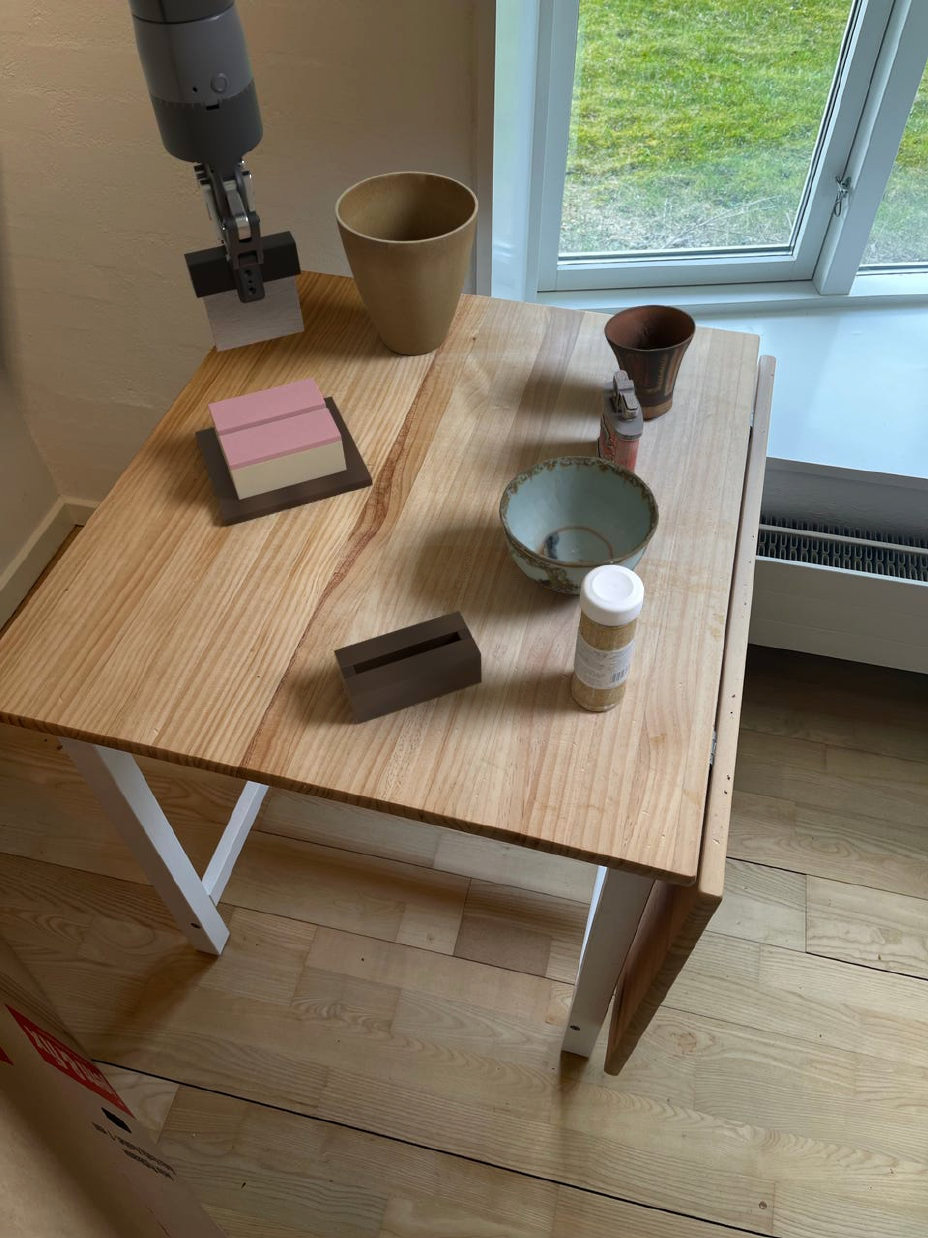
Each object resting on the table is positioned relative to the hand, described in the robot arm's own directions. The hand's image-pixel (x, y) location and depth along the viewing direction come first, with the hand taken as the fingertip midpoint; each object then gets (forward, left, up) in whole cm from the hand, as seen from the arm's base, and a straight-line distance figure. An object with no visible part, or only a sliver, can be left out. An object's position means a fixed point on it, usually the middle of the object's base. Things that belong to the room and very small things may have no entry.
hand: (249, 290), depth 81 cm
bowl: (+21, -24, -20) cm, 38 cm away
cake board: (0, +1, -20) cm, 20 cm away
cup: (+38, -5, -20) cm, 43 cm away
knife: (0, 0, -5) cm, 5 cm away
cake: (0, -2, -19) cm, 19 cm away
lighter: (+31, -13, -20) cm, 39 cm away
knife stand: (+3, -30, -20) cm, 36 cm away
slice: (0, +4, -19) cm, 20 cm away
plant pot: (+20, +16, -20) cm, 33 cm away
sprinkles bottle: (+17, -37, -20) cm, 45 cm away
